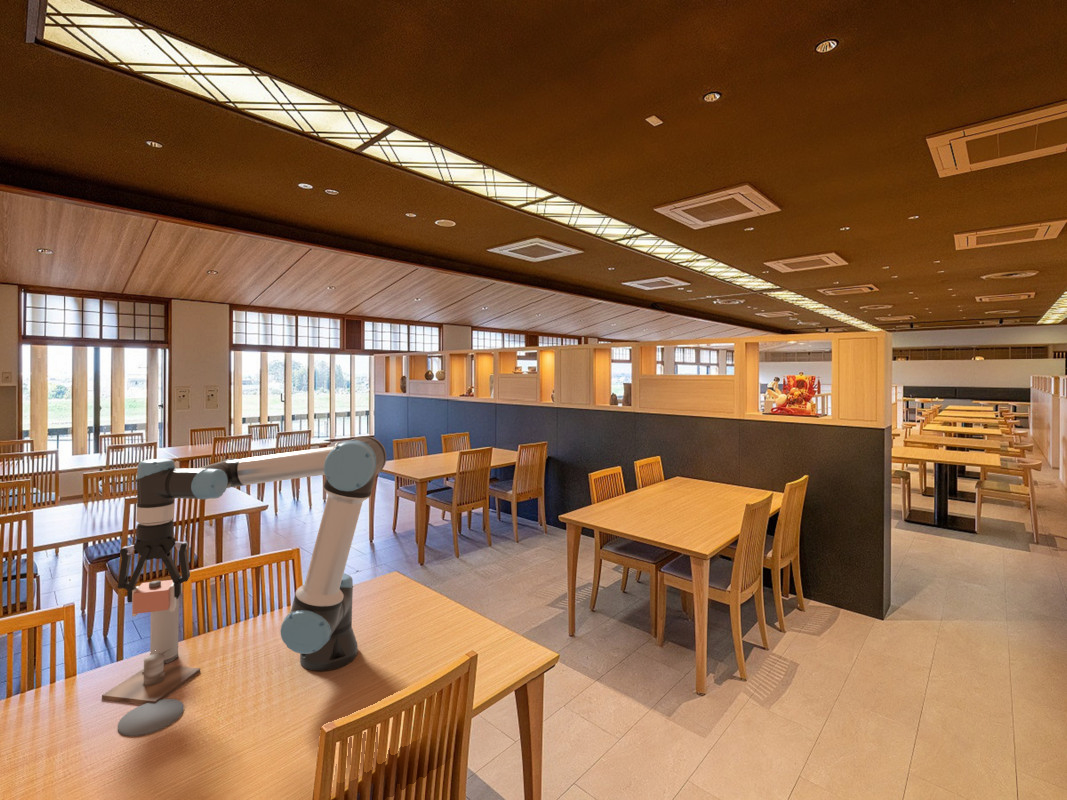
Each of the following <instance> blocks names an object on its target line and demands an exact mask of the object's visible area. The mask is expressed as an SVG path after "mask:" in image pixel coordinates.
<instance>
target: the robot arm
mask: <svg viewBox="0 0 1067 800" xmlns="http://www.w3.org/2000/svg"><path fill="white" fill-rule="evenodd" d="M386 463H387V452H386V449H385V447H384V444H382V442H380V441H379V440H378V439H377V438H374V437H373V436H367V435H365V436H363V435H362V436H361V435H360V436H358V437H357V436H356V437H355V438H352V439H348V440H343V441H337V442H336V443H335V444H334V445H333V446H326V447H319V448H318V447H317V448H310V449H302V450H296V451H290V452H289V451H287V452H280V453H273V454H272V453H271V454H265V455H258V456H251V457H250V456H249V457H243V458H227V459H223V460H220V461H219V462H215V463H211V464H206V465H203V466H200V467H196V468H195V467H192V468H191V467H190V468H186V467H176V465H175V461H174V459H171V458H152V459H151V458H150V459H145V460H142V461H139V463H138V464H137V471H136V478H135V480H136V515H135V516H136V518H135V519H136V520H135V521H136V522H137V524H136V527H135V528H136V530H135V531H136V532H135V535H136V536H135V543H134V544H132V545H125V546H122V547H121V549H120V550H119V552H120V556H121V563H120V567H119V575H118V582H117V589H120V590H121V589H125V590H126V593H127V595H126V596H127V597H126V598H127V599H126V601H127V603H128V604H129V603H130V604H131V605H132V606H131V617H132V618H133V617H137V615H138V614H133V593H134V592H135V591H136V590H137V589H138V587H139V586H140V585H137V583H138V581H139V578H140V576H141V574H142V572H143V569H144V567H145V566H146V564H147V562H148V560H154V559H155V560H161V561H162V563H163V564H164V566H165V568H166V570H167V572H168V574H169V576H170V580H172V581H173V583H172V585H171V586H170V612H174V610H175V608H176V597H179V598H180V595H181V593H182V583H186V582H188V581H189V579H190V577H191V572H190V565H189V564H190V563H189V557H188V550H187V549H188V547H189V541H188V540H184V541H179V540H178V541H177V540H176V538H175V531H174V530H175V521H174V520H173V519H174V518H175V499H185V500H186V499H190V500H191V499H192V500H193V499H194V500H195V499H196V500H197V499H198V500H206V501H207V500H210V499H211V500H212V499H213V500H214V499H219V498H221V497H222V496H223V495H224V493H225V492H226V491H227V489H229V488H236V487H242V486H243V487H244V486H249V485H256V484H264V483H265V484H266V483H271V482H273V483H274V482H279V481H280V482H281V481H286V480H295V479H302V478H303V479H304V478H309V477H319V476H325V481H324V484H323V490H324V492H326V494H327V497H326V501H325V505H324V509H323V512H322V517H321V521H320V525H319V528H318V531H317V536H316V538H315V542H314V546H313V547H314V548H313V551H312V554H311V558H310V562H309V566H308V570H307V573H306V576H305V577H306V578H305V581H304V584H302V585H300V586H299V587H297V589H296V591H295V594H294V597H293V601H292V605H291V609H290V612H289V613H288V614H287V615H286V616H285V617H284V620H283V622H282V623H281V626H280V637H281V640H282V642H283V644H284V645H286V647H287V648H288V649H289V650H290V651H292V652H293V653H296V654H299V655H300V656H299V663H300V665H301V666H302V667H303V668H305V669H306V670H309V671H316V672H323V671H325V672H326V671H331V670H336V669H338V668H339V669H340V668H341V667H344V666H346V665H348V664H349V663H351V662H352V661H354V659H356V657H357V656H358V648H359V647H358V642H357V638H356V636H355V632H354V629H353V625H352V623H353V622H352V621H353V618H352V617H353V597H354V596H353V593H354V589H353V588H354V583H353V577H352V576H350V575H349V574H346V573H345V569H346V565H347V563H348V558H349V554H350V550H351V547H352V544H353V540H354V536H355V533H356V528H357V524H358V520H359V517H360V513H361V509H362V506H363V502H364V501H365V500H367V499H369V498H370V497H371V495H372V491H373V490H374V489H373V488H374V485H375V480H376V477H377V475H379V473H381V472H382V471H383V469H384V467H385V465H386ZM174 547H175V548H176V550H177V551H178V558H179V566H180V571H179V570H178V568H177V565H176V563H175V562H174V561H175V560H174V559H173V556H172V553H171V550H172V549H173V548H174ZM134 550H135V551H136V553H137V554H138V555H140V557H139V559H138V562H137V565H136V567H135V569H134V570H133V573H132V575H131V578H130V580H129V579H128V577H129V573H130V568H131V567H130V566H131V559H132V554H133V553H134ZM180 572H181V574H180ZM128 580H129V581H128Z"/></svg>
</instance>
